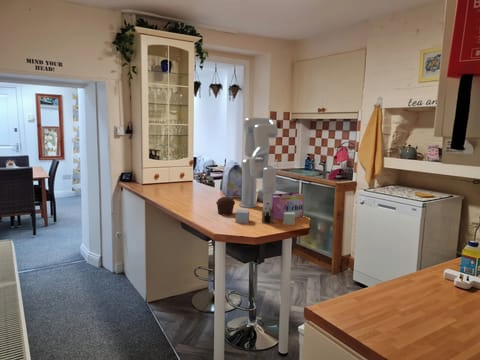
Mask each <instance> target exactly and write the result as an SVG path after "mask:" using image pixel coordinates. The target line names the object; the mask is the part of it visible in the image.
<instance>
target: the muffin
mask: <svg viewBox="0 0 480 360" xmlns="http://www.w3.org/2000/svg"><path fill="white" fill-rule="evenodd" d="M215 203H216V207H217V214H218V215H220V216H231V215H233V213H234V207H235V205H236V202H235V200H234V199H233V198H230V197H227V196H222V197H219V198H218V199H217V201H216V202H215Z"/></svg>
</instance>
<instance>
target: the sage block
mask: <svg viewBox="0 0 480 360" xmlns="http://www.w3.org/2000/svg"><path fill="white" fill-rule="evenodd" d="M282 220H283V221H282V223H283V225H285V226H286V225H287V226H295V222H296V221H295V220H296V217H295V212H286V211H284V219H282Z"/></svg>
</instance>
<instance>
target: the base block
mask: <svg viewBox="0 0 480 360" xmlns="http://www.w3.org/2000/svg"><path fill="white" fill-rule="evenodd" d="M234 221H235V222H234V223H236V224H249V222H248V221H250V209H236V211H235V220H234Z"/></svg>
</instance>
